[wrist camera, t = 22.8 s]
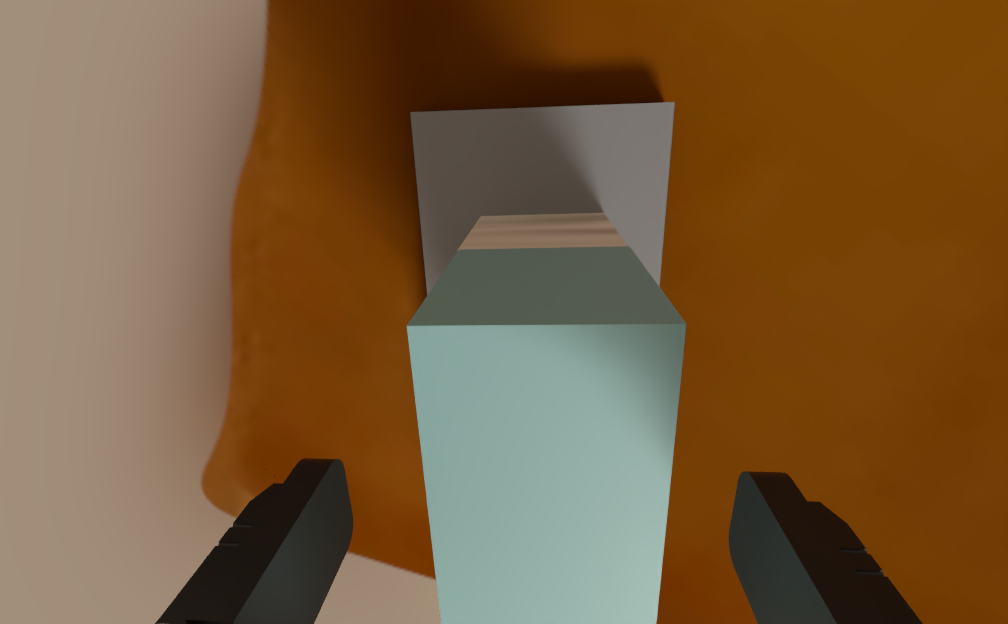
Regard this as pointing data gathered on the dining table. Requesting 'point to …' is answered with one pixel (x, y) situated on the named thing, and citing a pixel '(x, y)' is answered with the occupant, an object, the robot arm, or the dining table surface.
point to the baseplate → (542, 171)
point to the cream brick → (543, 232)
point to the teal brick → (547, 433)
